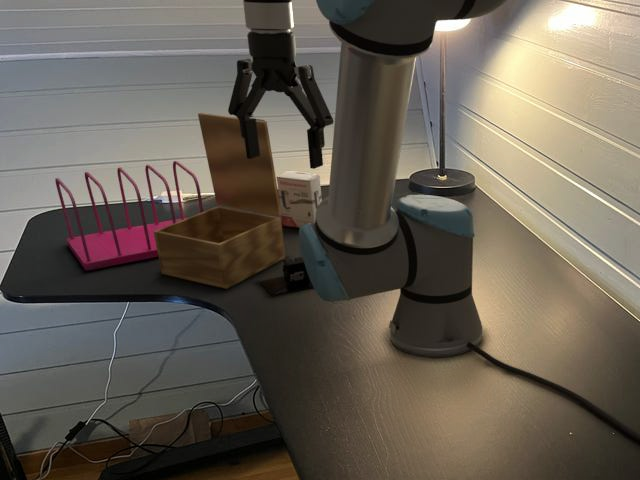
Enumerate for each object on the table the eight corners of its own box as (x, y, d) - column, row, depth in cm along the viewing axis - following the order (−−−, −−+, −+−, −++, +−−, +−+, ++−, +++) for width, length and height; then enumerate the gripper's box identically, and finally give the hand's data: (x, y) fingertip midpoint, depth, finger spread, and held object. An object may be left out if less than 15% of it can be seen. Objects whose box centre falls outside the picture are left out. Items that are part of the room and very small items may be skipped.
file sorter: (213, 247, 155) (201, 174, 148) (86, 272, 142) (65, 193, 134) (187, 224, 167) (175, 156, 160) (67, 246, 154) (47, 172, 146)
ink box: (281, 226, 168) (275, 175, 162) (292, 219, 172) (286, 169, 166) (315, 231, 166) (310, 179, 160) (325, 224, 170) (321, 173, 164)
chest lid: (264, 122, 136) (285, 114, 141) (197, 113, 142) (220, 105, 147) (279, 216, 146) (299, 205, 151) (216, 204, 152) (237, 194, 157)
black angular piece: (321, 271, 146) (319, 249, 143) (335, 284, 140) (334, 261, 138) (260, 283, 140) (257, 260, 137) (272, 296, 134) (269, 273, 132)
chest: (226, 288, 137) (219, 245, 132) (161, 273, 142) (153, 231, 138) (285, 258, 151) (280, 217, 147) (224, 245, 157) (218, 205, 152)
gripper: (348, 34, 117) (356, 166, 128) (225, 24, 126) (242, 148, 136) (321, 38, 111) (331, 176, 122) (194, 27, 120) (214, 157, 130)
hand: (284, 162), depth 129 cm, fingers open, 13 cm apart
